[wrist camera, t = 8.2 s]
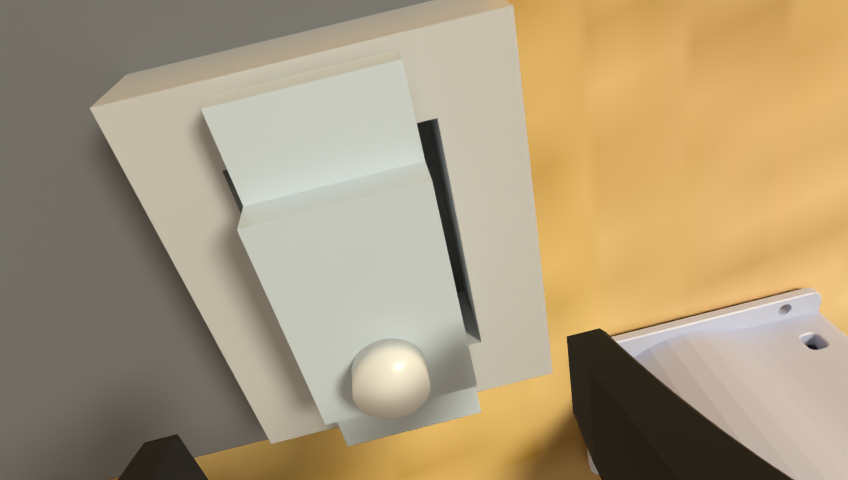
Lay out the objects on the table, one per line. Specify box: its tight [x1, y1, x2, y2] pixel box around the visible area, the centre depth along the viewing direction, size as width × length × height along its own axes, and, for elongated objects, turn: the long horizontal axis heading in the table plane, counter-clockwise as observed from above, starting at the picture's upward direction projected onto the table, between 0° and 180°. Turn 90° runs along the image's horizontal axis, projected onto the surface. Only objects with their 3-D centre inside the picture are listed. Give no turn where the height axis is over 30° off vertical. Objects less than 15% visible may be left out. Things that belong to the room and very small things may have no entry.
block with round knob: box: [201, 49, 481, 446], centre depth 15 cm, size 4×10×5 cm, turn 12°
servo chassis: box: [0, 0, 553, 480], centre depth 16 cm, size 20×16×4 cm
